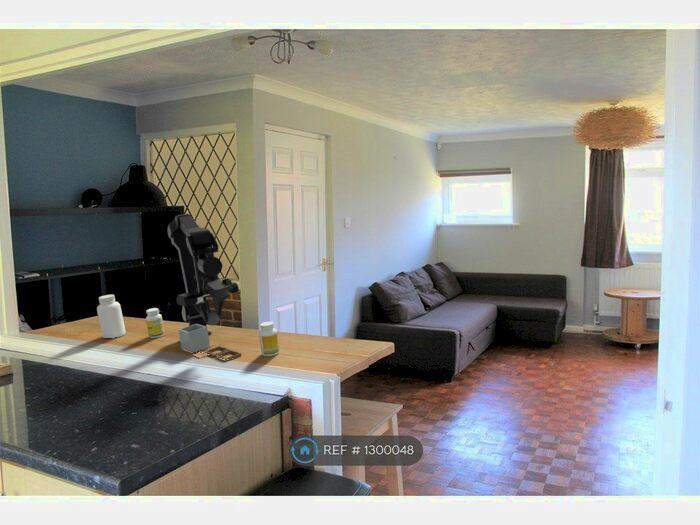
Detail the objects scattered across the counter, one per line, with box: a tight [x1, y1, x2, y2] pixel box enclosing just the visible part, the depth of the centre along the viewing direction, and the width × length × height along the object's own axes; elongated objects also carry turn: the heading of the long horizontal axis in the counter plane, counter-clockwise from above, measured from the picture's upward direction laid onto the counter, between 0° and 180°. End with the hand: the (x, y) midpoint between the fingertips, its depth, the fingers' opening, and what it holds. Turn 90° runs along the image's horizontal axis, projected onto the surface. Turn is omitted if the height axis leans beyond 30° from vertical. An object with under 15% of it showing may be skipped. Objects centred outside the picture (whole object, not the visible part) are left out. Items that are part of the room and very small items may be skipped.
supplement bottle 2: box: [258, 321, 280, 357], centre depth 169 cm, size 5×5×10 cm
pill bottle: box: [96, 294, 126, 339], centre depth 203 cm, size 8×8×15 cm
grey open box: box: [177, 324, 211, 353], centre depth 181 cm, size 7×7×7 cm
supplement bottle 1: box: [145, 307, 166, 339], centre depth 198 cm, size 5×5×10 cm
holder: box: [204, 345, 242, 360], centre depth 173 cm, size 12×6×1 cm, turn 44°
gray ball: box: [206, 311, 220, 326], centre depth 173 cm, size 4×4×4 cm
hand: (212, 320), depth 173 cm, fingers closed on gray ball, 4 cm apart
